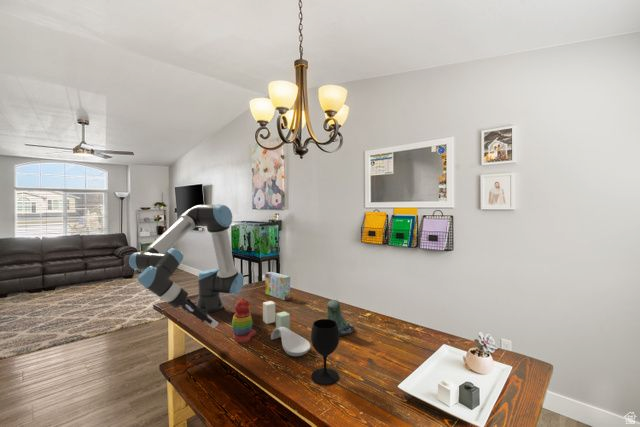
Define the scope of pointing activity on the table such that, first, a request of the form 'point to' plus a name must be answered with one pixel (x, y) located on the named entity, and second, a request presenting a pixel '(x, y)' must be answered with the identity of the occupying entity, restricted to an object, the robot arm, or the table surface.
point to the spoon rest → (291, 341)
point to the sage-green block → (283, 320)
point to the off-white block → (268, 312)
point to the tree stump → (338, 318)
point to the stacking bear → (242, 322)
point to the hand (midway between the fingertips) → (215, 325)
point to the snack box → (277, 285)
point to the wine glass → (325, 349)
